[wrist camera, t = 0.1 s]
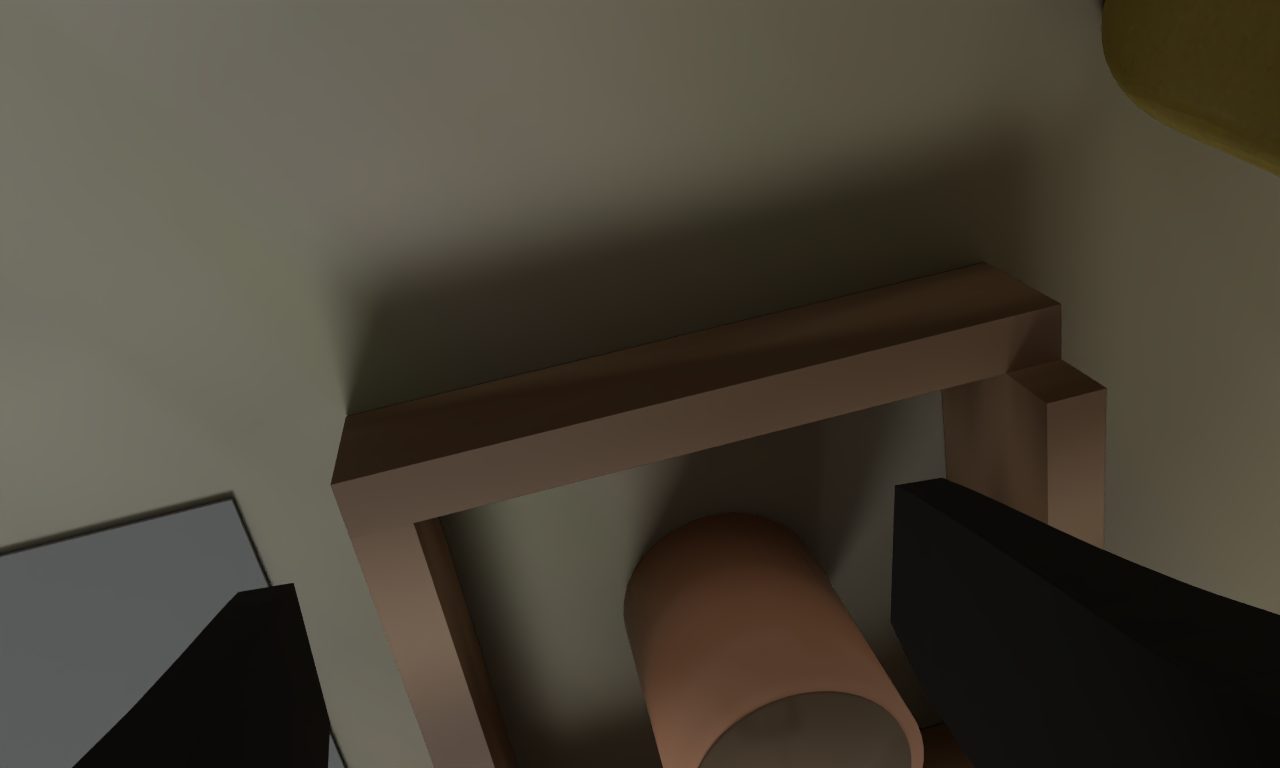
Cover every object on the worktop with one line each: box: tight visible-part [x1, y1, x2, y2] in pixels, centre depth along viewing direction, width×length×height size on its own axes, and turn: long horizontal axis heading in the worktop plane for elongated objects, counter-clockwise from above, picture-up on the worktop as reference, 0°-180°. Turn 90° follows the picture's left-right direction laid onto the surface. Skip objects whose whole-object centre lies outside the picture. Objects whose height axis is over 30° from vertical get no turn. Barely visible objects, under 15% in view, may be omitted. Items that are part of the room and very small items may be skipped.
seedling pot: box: [624, 513, 924, 768], centre depth 22 cm, size 5×5×6 cm
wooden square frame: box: [331, 262, 1107, 768], centre depth 22 cm, size 14×14×4 cm
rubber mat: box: [0, 498, 346, 768], centre depth 23 cm, size 12×8×1 cm, turn 10°
